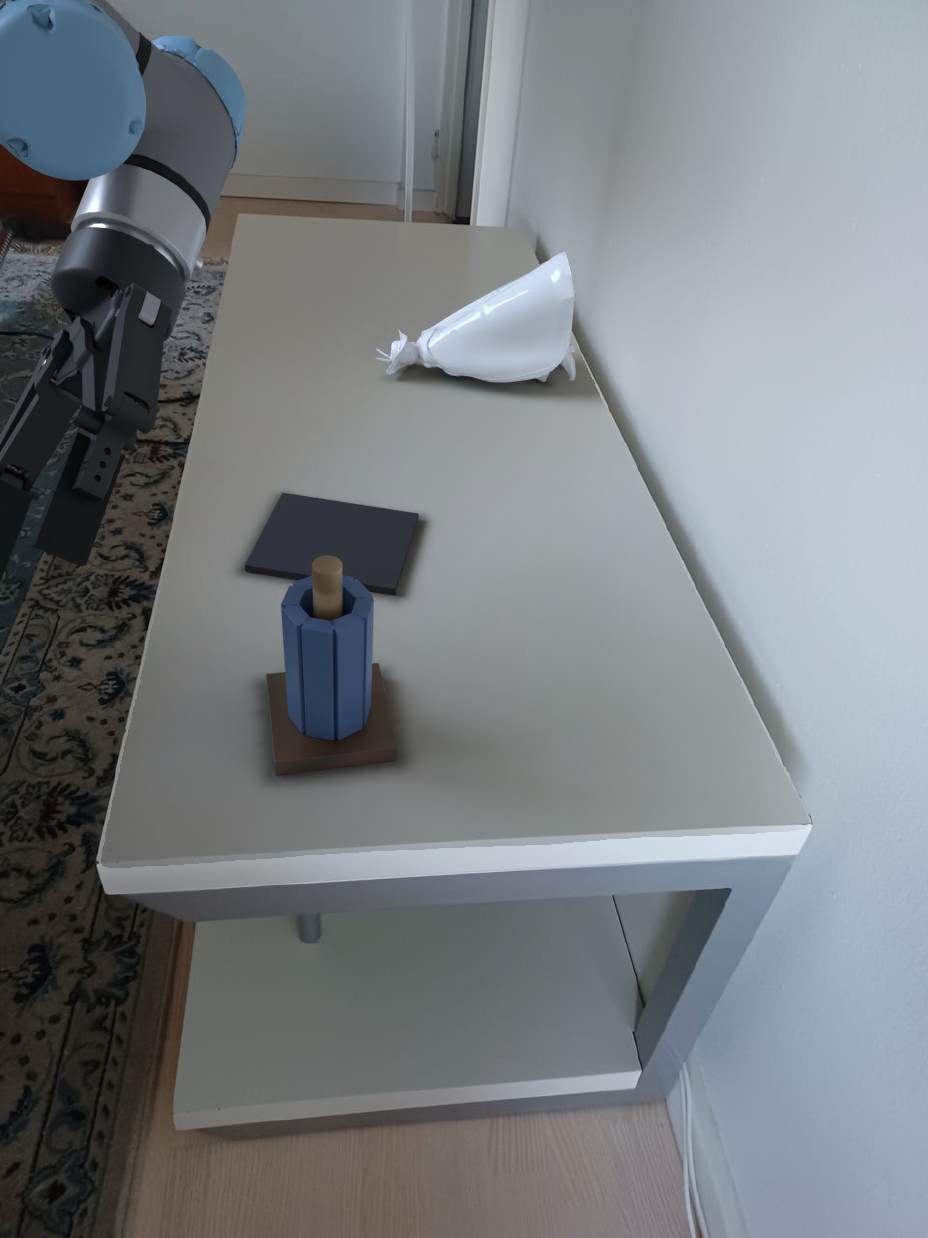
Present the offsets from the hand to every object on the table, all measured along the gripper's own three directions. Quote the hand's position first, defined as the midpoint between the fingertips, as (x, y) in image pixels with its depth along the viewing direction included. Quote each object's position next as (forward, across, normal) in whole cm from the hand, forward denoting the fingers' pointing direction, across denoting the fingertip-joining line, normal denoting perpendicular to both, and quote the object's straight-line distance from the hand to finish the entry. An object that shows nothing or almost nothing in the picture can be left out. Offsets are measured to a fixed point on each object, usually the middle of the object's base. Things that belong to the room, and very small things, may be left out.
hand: (12, 569), depth 51 cm
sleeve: (+1, +2, -25) cm, 25 cm away
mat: (-17, +15, -30) cm, 38 cm away
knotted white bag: (-51, +25, -50) cm, 76 cm away
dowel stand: (+2, +3, -26) cm, 26 cm away
